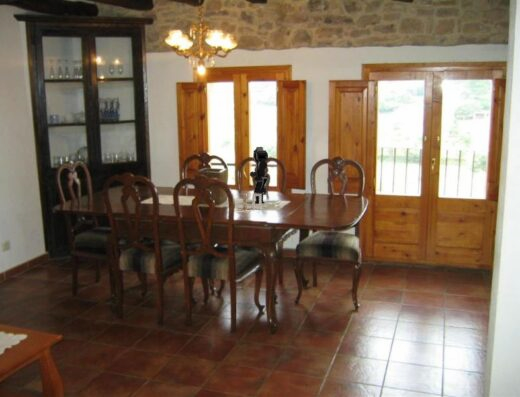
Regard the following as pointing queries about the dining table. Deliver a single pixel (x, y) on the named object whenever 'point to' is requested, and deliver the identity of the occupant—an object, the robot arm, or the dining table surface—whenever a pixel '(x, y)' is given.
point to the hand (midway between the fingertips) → (261, 189)
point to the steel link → (259, 200)
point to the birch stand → (244, 205)
